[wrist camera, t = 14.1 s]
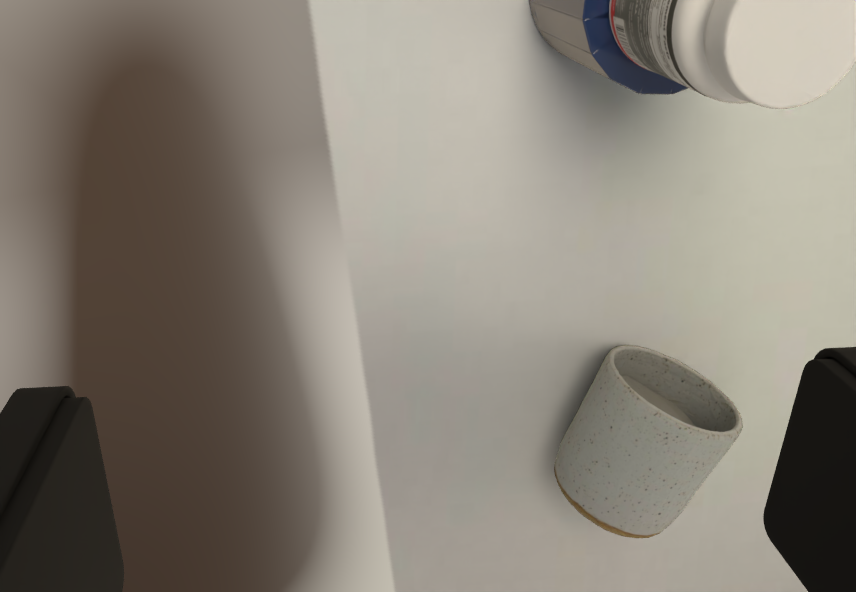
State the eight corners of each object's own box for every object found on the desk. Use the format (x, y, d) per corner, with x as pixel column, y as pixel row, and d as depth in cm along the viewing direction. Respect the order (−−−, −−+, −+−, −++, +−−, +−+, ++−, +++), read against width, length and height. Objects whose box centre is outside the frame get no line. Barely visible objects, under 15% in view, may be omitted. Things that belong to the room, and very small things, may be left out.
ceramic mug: (531, 448, 45) (571, 542, 38) (588, 330, 42) (643, 410, 35) (682, 481, 48) (744, 574, 41) (746, 373, 45) (825, 454, 38)
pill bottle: (747, -67, 27) (914, -64, 19) (717, 73, 29) (857, 124, 21) (617, -77, 26) (738, -78, 19) (595, 67, 28) (696, 118, 21)
